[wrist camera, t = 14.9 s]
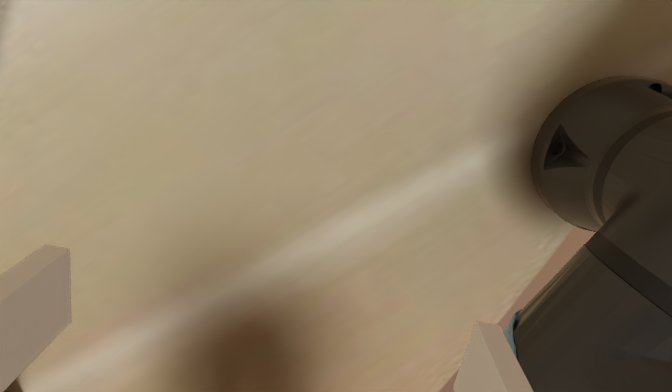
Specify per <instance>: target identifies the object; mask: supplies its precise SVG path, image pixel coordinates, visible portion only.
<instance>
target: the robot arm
mask: <svg viewBox="0 0 672 392" xmlns="http://www.w3.org/2000/svg"><path fill="white" fill-rule="evenodd" d="M531 166H532V176H533V181H534V184H535V187H536V189H537V192H538V194H539V195H540V197H541V198H542V200H543V201H544V202H545V204H546V205H547V206H548V207H549V208H550V209H551V210H553V211H554V212H555V213H556V214H557V215H558V216H560V217H561V218H562V219H564V220H565V221H567V222H568V223H570V224H572V225H574V226H576V227H579V228H581V229H585V230H589V231H593V232H596V233H595V234H594V235H593V237H591V239H590V240H589V241H588V242H587V243H586V244H584V245H583V246H582V247H581V248H580V250H579V251H578V252H577V253H576V254H575V255H574V256H573V257H572V258H571V259H570V260H569V261H568V262H567V263H566V264H565V265H564V267H563V268H562V269H561V270H560V271H559V272H558V273H557V274H556V275H555V276H554V277H553V278H552V279H551V280H550V281H549V282H548V284H547V285H546V286H545V287H544V288H543V289H542V290H541V291H540V292H539V293H538V294H537V295H536V296H535V297H534V298H533V299H532V300H531V301H530V302H529V303H528V304H527V305H526V306H525V307H524V308H523V309H521V310H519V311H518V312H516V313H515V314H514V315H513V317H512V319H511V321H510V324H509V325H508V327H507V328H506V329H505V330H504V331H503V332H502V330H501V328H500V326H499V325H494V324H489V323H483V322H477V321H476V324H475V327H474V330H473V332H472V335H471V338H470V341H469V344H468V347H467V349H466V352H465V355H464V358H463V361H462V364H461V366H460V369H459V372H458V375H457V378H456V381H455V383H454V386H453V389H454V392H672V86H671V85H669V84H666V83H664V82H661V81H657V80H653V79H647V78H640V77H633V76H619V77H612V78H606V79H603V80H599V81H596V82H593V83H591V84H589V85H587V86H584V87H582V88H581V89H579V90H577V91H576V92H574V93H573V94H571V95H570V96H568V97H567V98H566V99H565V100H564V101H562V102H561V103H560V104H559V105H558V106H557V107H556V108H555V109H554V110H553V112H552V113H551V114H550V115H549V117H548V118H547V119H546V121H545V122H544V124H543V126H542V128H541V129H540V131H539V134H538V136H537V138H536V141H535V144H534V148H533V153H532V163H531ZM71 322H72V319H71V274H70V249H68V248H62V247H56V246H51V245H44V246H43V247H41V248H40V249H38V250H37V251H35V252H34V253H32V254H31V255H29V256H28V257H26V258H25V259H24V260H22V261H21V262H19V263H18V264H16V265H15V266H13V267H12V268H10V269H9V270H8V271H6V272H5V273H3V274H2V275H0V392H3V391H4V390H5V389H6V388H7V387H8V386H9V385H10V384H11V383H12V382H13V381H14V380H15V379H16V378H17V377H18V376H19V375H20V374H21V373H22V372H23V371H24V370H25V369H26V368H27V367H28V366H29V365H30V364H31V363H32V362H33V361H34V360H35V359H36V358H37V357H38V355H39V354H40V353H41V352H42V351H43V350H44V349H45V348H46V347H47V346H48V345H49V344H50V343H51V342H52V341H53V340H54V339H55V338H56V337H57V336H58V335H59V334H60V333H61V332H62V331H63V330H64V329H65V328H66V327H67V326H68V325H69V324H70V323H71Z"/></svg>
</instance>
